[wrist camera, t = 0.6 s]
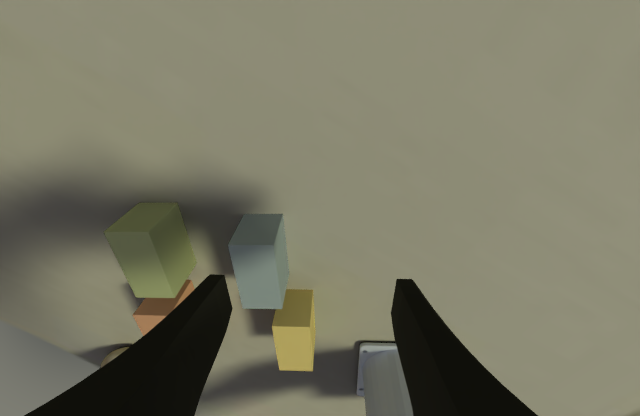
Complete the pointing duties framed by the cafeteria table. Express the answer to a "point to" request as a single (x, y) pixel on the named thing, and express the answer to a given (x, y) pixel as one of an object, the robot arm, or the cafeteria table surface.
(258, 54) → the cafeteria table surface
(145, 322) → the terracotta brick
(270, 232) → the slate brick
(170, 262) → the olive brick
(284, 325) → the mustard brick
